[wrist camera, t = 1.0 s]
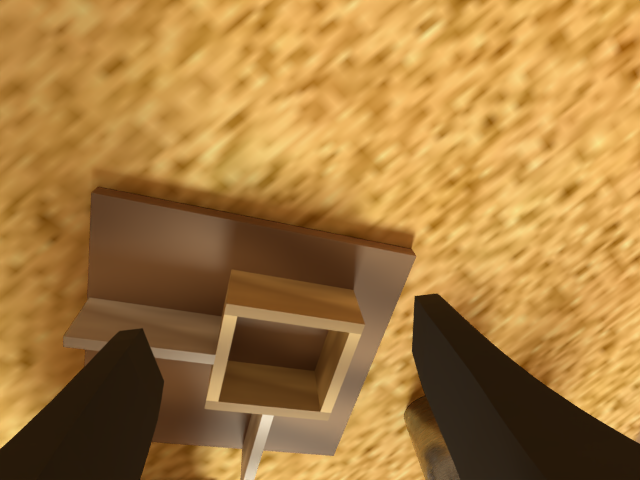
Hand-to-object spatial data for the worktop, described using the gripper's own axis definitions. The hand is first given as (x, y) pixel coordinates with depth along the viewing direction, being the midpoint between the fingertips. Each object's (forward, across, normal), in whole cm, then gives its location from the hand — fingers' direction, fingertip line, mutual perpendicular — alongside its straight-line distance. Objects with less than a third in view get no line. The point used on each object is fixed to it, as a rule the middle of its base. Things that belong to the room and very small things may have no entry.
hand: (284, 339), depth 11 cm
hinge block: (+10, +4, +9) cm, 14 cm away
